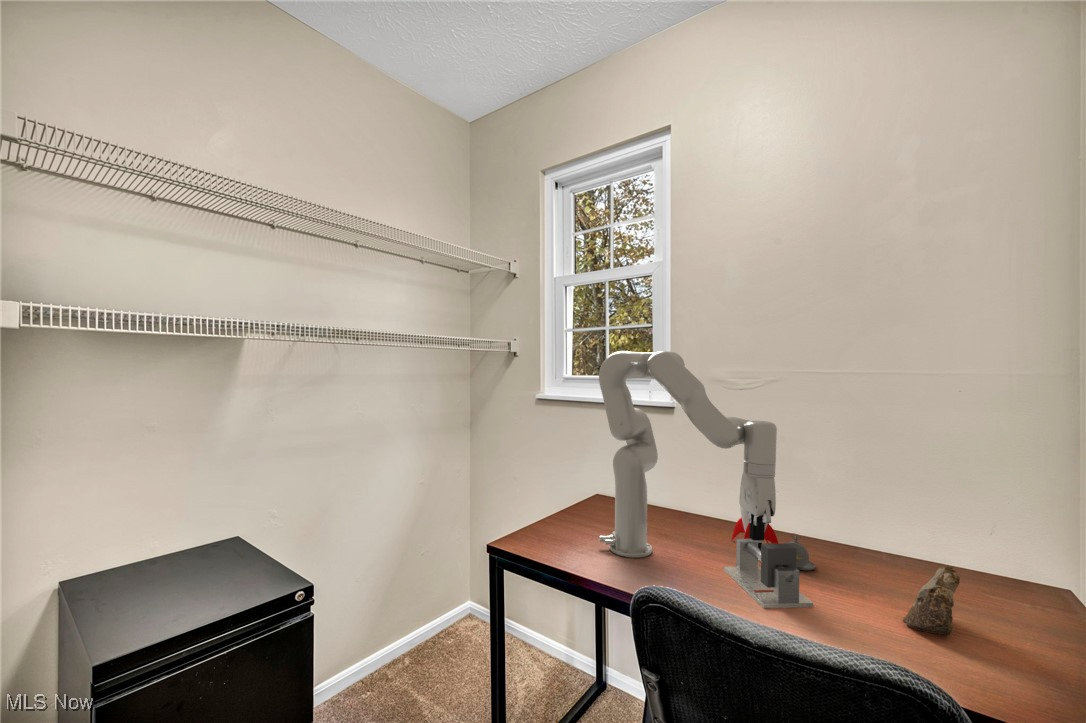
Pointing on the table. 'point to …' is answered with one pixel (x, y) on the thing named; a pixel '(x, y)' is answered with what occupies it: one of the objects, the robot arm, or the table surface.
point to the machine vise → (750, 581)
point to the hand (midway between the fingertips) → (756, 539)
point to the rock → (935, 603)
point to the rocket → (744, 527)
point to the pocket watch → (801, 556)
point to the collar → (775, 560)
